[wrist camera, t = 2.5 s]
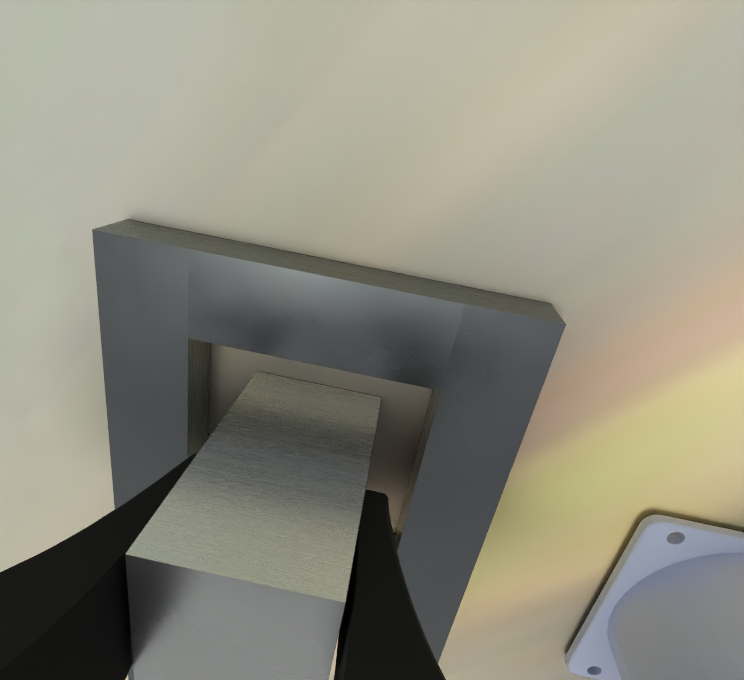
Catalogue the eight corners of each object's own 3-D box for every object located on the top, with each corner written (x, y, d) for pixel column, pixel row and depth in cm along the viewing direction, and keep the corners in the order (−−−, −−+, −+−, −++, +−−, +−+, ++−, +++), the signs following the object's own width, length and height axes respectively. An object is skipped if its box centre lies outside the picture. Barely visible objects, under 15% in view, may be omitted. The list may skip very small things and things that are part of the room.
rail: (551, 303, 13) (568, 327, 11) (362, 833, 26) (358, 877, 24) (127, 219, 13) (86, 231, 12) (154, 784, 26) (138, 825, 25)
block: (381, 397, 15) (345, 603, 8) (361, 493, 16) (317, 727, 10) (256, 371, 15) (125, 554, 8) (248, 470, 16) (134, 685, 10)
